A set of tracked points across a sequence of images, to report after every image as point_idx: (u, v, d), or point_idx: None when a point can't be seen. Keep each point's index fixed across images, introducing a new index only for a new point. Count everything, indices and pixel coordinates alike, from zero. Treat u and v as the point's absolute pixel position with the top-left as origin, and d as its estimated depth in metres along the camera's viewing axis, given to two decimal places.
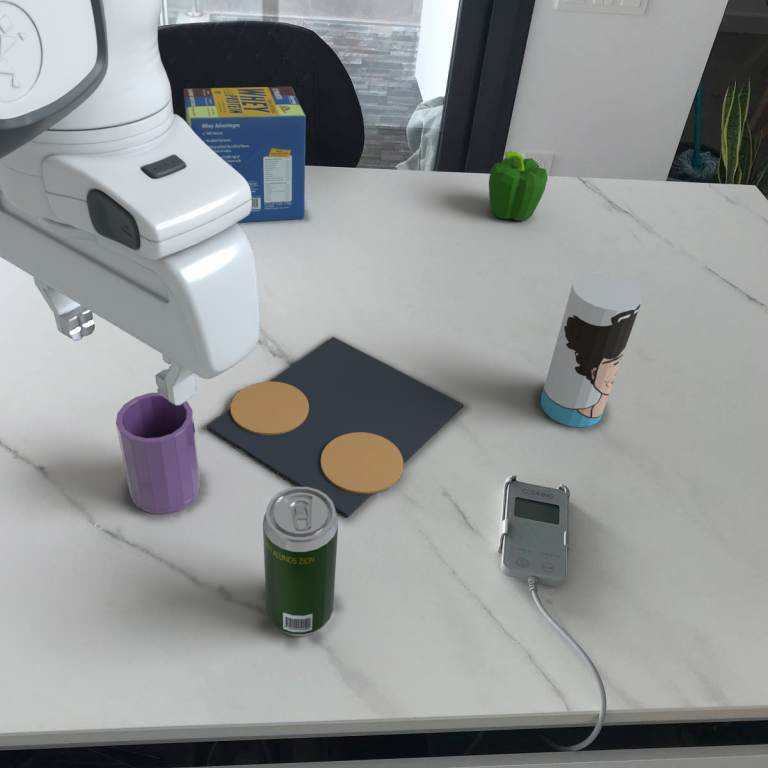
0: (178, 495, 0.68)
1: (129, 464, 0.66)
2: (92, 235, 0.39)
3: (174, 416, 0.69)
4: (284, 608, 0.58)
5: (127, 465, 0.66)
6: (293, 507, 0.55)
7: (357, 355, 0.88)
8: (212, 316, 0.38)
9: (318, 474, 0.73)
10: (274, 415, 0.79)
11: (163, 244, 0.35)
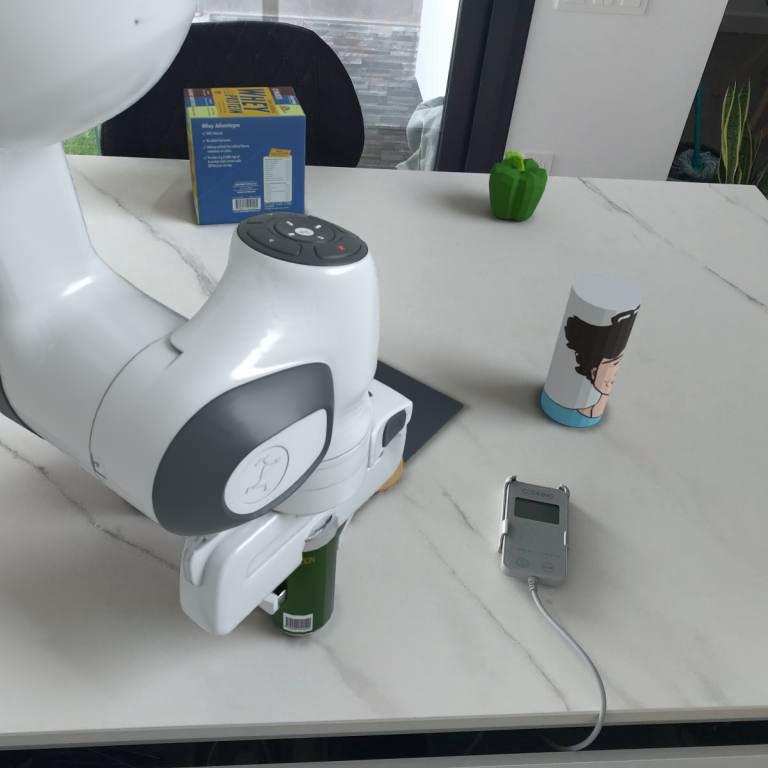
0: None
1: None
2: None
3: None
4: (284, 608, 0.58)
5: None
6: None
7: None
8: None
9: None
10: None
11: None
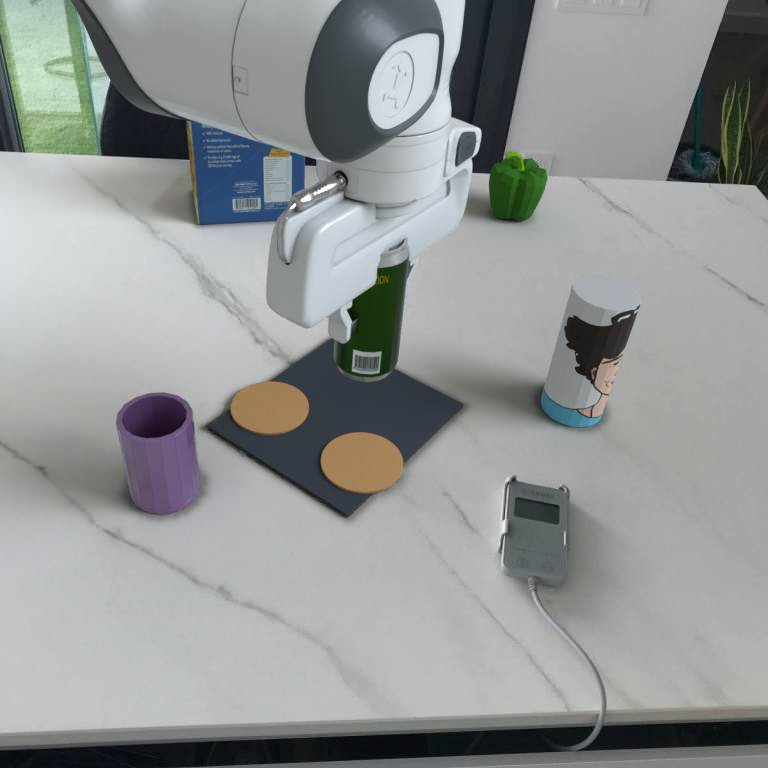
0: (178, 495, 0.68)
1: (129, 464, 0.66)
2: None
3: (174, 416, 0.69)
4: (354, 343, 0.60)
5: (127, 465, 0.66)
6: None
7: None
8: None
9: (318, 474, 0.73)
10: (274, 415, 0.79)
11: None
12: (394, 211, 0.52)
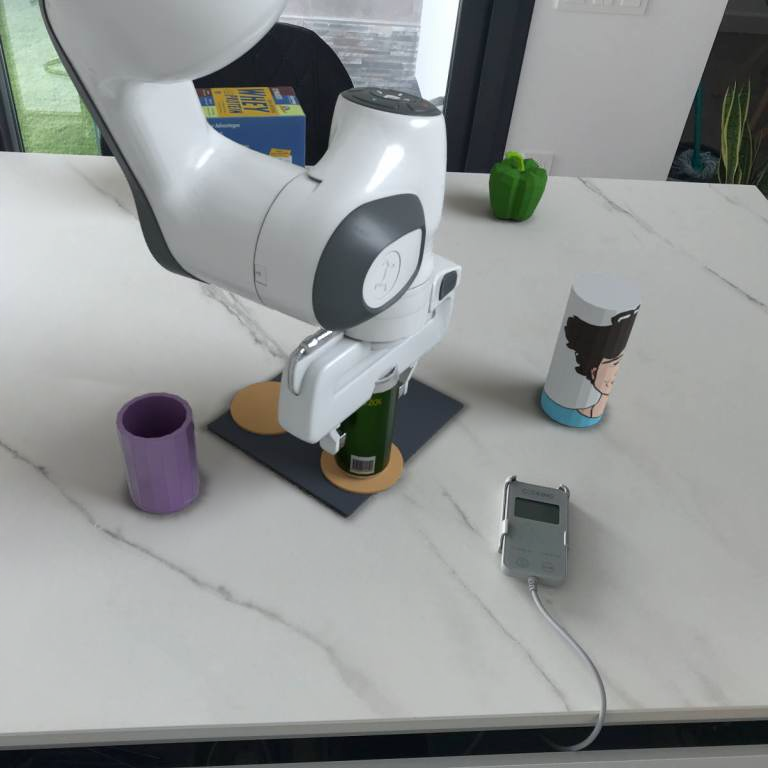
0: (178, 495, 0.68)
1: (129, 464, 0.66)
2: None
3: (174, 416, 0.69)
4: (352, 450, 0.70)
5: (127, 465, 0.66)
6: None
7: None
8: None
9: (318, 474, 0.73)
10: (274, 415, 0.79)
11: None
12: (386, 344, 0.62)
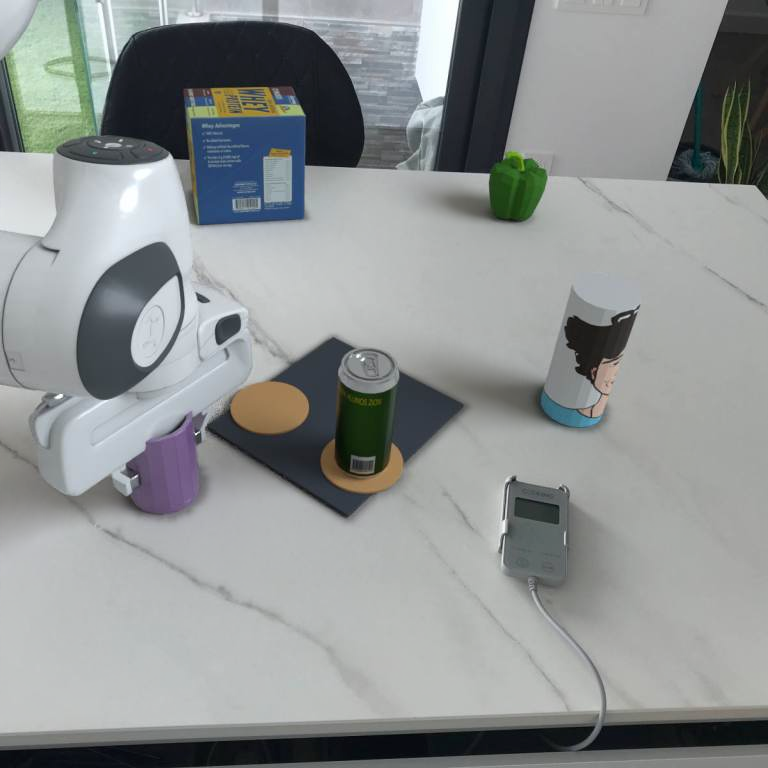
0: (178, 495, 0.68)
1: (129, 464, 0.66)
2: None
3: None
4: (352, 450, 0.70)
5: (127, 465, 0.66)
6: (362, 361, 0.68)
7: None
8: None
9: (318, 474, 0.73)
10: (274, 415, 0.79)
11: None
12: (153, 393, 0.60)
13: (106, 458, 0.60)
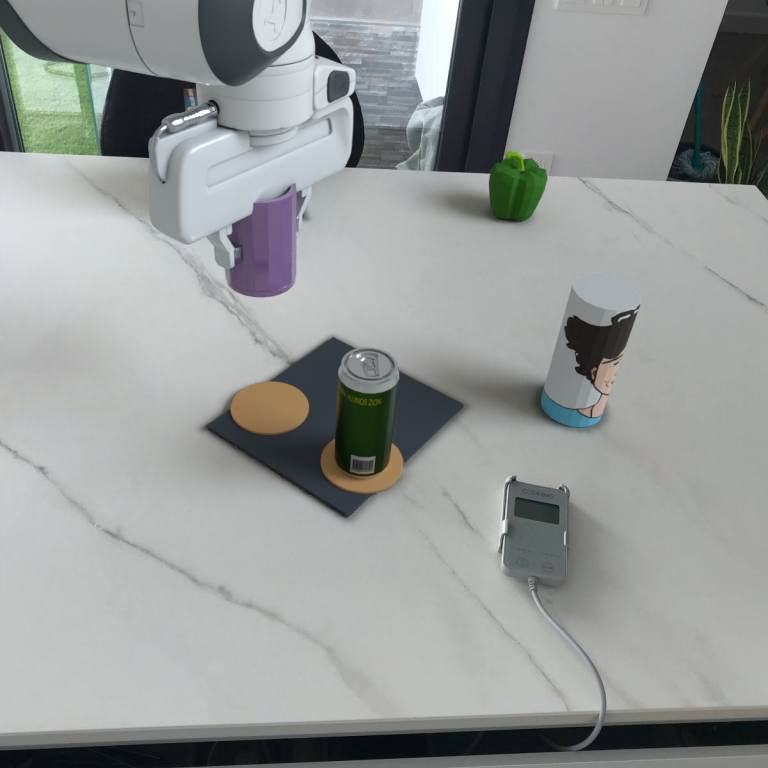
0: (278, 275, 0.66)
1: (231, 236, 0.64)
2: None
3: None
4: (352, 450, 0.70)
5: (229, 238, 0.64)
6: (362, 361, 0.68)
7: None
8: None
9: (318, 474, 0.73)
10: (274, 415, 0.79)
11: None
12: (266, 139, 0.58)
13: (218, 207, 0.58)
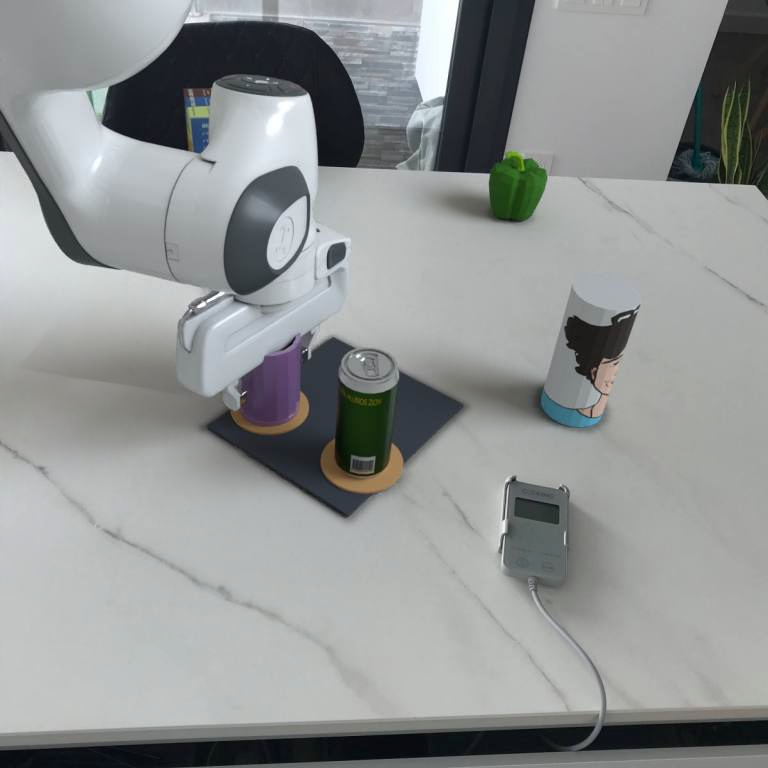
0: (284, 409, 0.77)
1: (245, 379, 0.74)
2: None
3: None
4: (352, 450, 0.70)
5: (242, 380, 0.75)
6: (362, 361, 0.68)
7: None
8: None
9: (318, 474, 0.73)
10: None
11: None
12: (275, 308, 0.68)
13: (234, 365, 0.69)
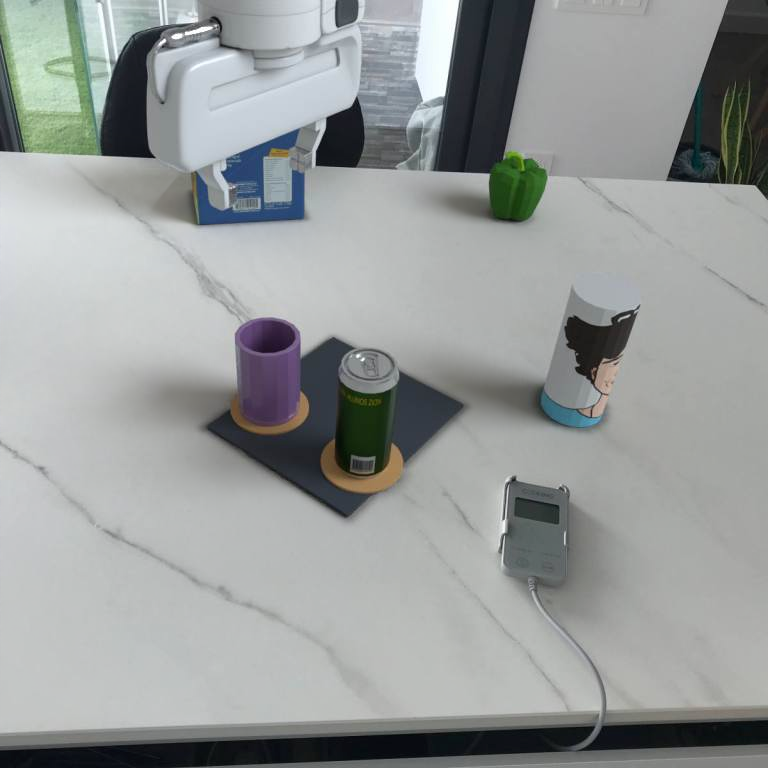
0: (284, 409, 0.77)
1: (245, 379, 0.74)
2: None
3: (280, 339, 0.77)
4: (352, 450, 0.70)
5: (242, 380, 0.75)
6: (362, 361, 0.68)
7: None
8: None
9: (318, 474, 0.73)
10: None
11: None
12: (271, 62, 0.55)
13: (220, 134, 0.55)
